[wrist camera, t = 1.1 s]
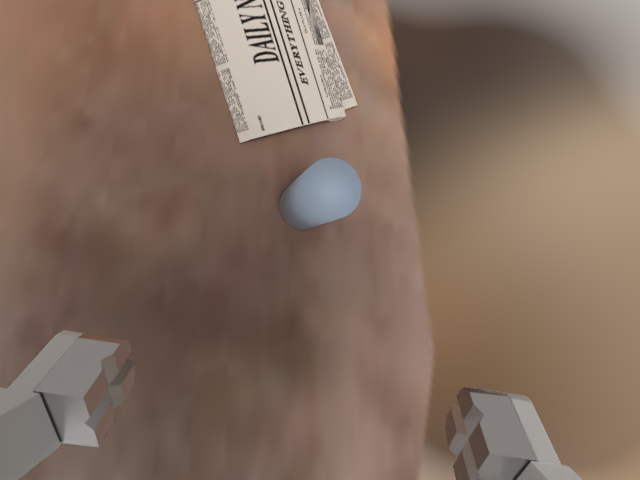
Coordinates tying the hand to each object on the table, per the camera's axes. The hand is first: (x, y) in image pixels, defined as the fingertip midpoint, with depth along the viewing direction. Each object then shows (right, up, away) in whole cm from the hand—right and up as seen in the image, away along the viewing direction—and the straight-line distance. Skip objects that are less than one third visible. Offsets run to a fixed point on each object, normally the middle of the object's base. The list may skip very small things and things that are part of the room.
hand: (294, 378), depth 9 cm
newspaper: (-5, +25, +27) cm, 37 cm away
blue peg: (-1, +7, +26) cm, 27 cm away
